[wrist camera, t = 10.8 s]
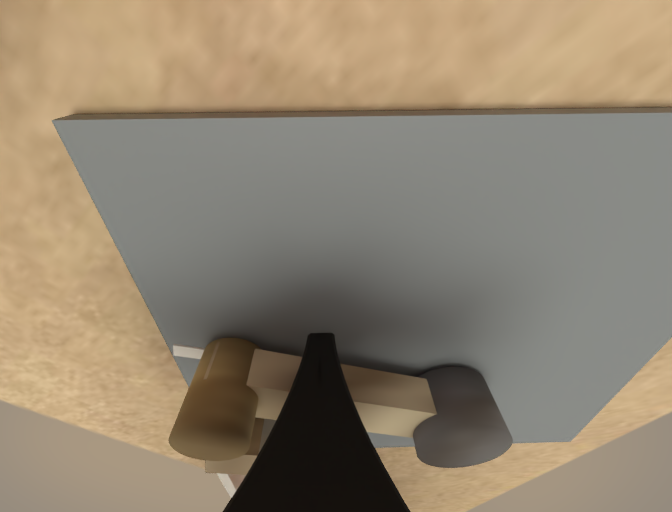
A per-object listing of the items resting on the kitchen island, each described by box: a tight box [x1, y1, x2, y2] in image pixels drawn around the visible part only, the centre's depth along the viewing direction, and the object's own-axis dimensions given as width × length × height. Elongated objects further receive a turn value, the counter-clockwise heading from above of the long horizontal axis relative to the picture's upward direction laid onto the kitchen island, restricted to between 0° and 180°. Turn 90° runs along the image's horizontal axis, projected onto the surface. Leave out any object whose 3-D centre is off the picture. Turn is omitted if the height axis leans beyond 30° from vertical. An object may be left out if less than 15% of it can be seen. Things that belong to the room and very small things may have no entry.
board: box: [52, 107, 672, 448], centre depth 14 cm, size 19×22×1 cm
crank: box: [169, 338, 513, 468], centre depth 12 cm, size 14×4×4 cm, turn 72°
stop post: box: [205, 417, 264, 475], centre depth 13 cm, size 2×2×3 cm
